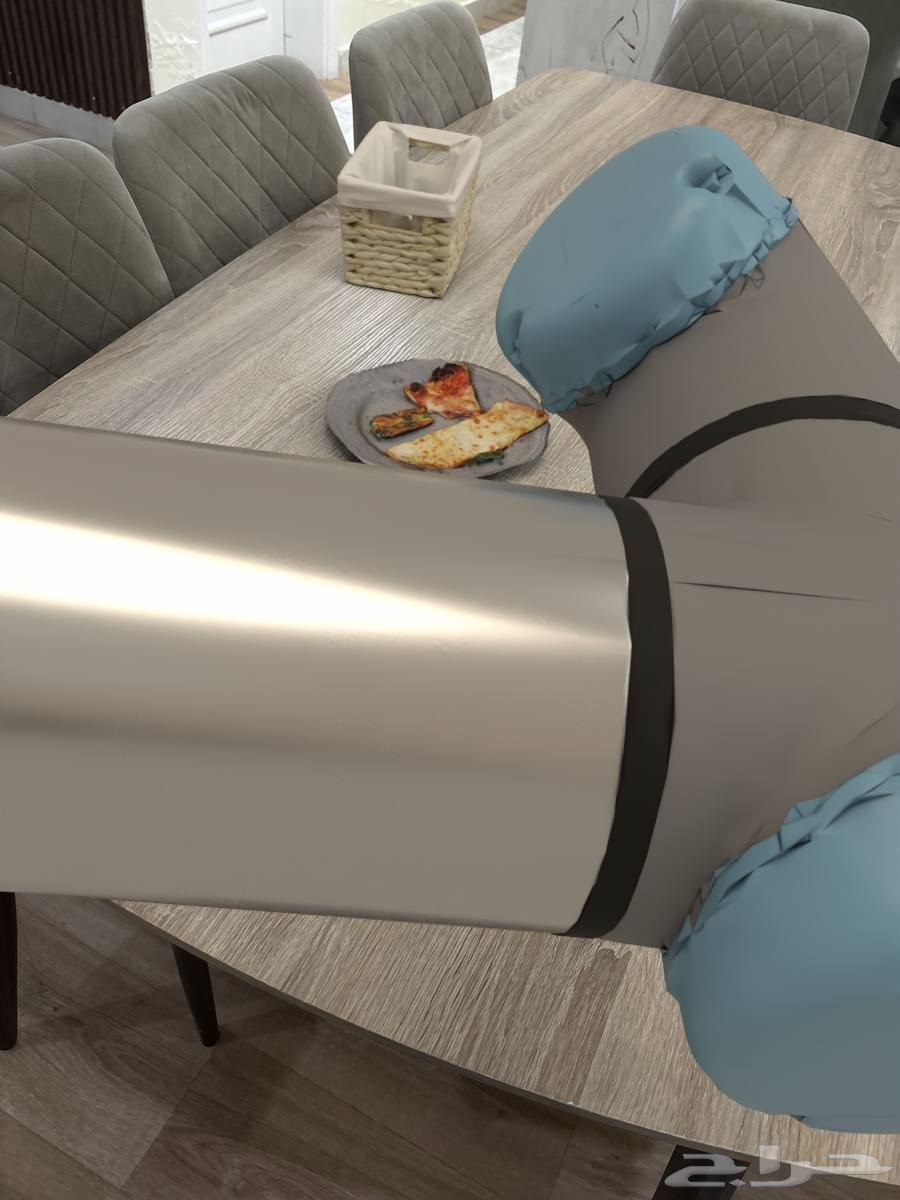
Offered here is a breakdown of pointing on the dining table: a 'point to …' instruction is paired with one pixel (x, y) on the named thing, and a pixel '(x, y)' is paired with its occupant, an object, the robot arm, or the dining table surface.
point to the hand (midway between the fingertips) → (336, 699)
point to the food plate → (437, 418)
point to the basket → (407, 208)
